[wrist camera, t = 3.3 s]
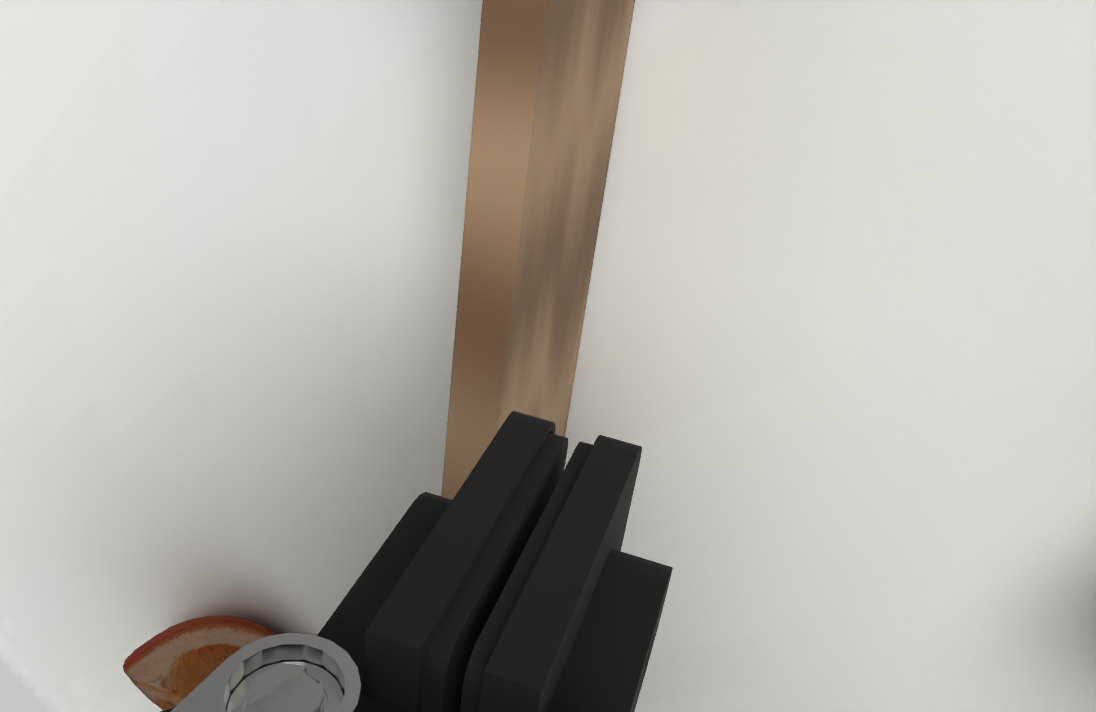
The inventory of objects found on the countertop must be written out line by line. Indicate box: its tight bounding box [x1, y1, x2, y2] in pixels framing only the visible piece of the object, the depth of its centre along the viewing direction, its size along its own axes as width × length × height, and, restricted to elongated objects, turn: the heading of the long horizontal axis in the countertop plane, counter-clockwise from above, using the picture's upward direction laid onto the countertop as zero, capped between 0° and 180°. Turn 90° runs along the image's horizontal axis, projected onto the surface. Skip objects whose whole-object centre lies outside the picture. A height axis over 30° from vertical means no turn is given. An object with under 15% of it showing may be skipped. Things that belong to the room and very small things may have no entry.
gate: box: [442, 0, 635, 500], centre depth 22 cm, size 18×2×8 cm, turn 173°
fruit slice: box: [123, 616, 275, 711], centre depth 38 cm, size 8×7×5 cm
